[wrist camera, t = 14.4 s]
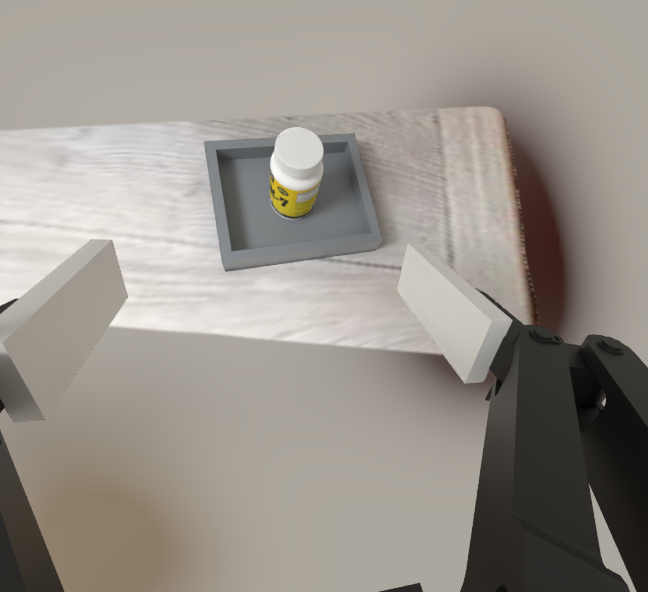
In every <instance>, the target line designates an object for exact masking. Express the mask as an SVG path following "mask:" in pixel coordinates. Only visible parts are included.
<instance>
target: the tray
mask: <svg viewBox="0 0 648 592" xmlns="http://www.w3.org/2000/svg"><path fill="white" fill-rule="evenodd" d="M317 136H318V137H319V139H320V140H321V142H322V145H323V149H324V153H323V159H322V162H323V175H322V179H321V183H320V186H319V190H318V193H317V197H316V200H315V204H314V207H313V209H312V211H311V212H310V214H309V215H307V216H306V217H304V218H302V219H299V220H288V219H285V218H283V217H281V216H280V215H278V214H277V213H276V212H275V211H274V209H273V208H272V206H271V203H270V160H271V156H272V154H273V152H274V149H275V142H276V139H277V138H261V139H242V140H224V141H205V142H204V145H205V152H206V159H207V165H208V172H209V179H210V185H211V192H212V199H213V205H214V212H215V219H216V225H217V232H218V239H219V245H220V252H221V259H222V264H223V266H224V269H225V271H233V270H240V269H247V268H254V267H261V266H268V265H275V264H282V263H290V262H297V261H304V260H311V259H318V258H325V257H332V256H339V255H346V254H353V253H360V252H368V251H375V250H376V249H377V248H378V246H379V245H380V244H381V243H382V242H383V239H382V235H381V231H380V228H379V224H378V220H377V216H376V213H375V209H374V205H373V201H372V198H371V194H370V190H369V186H368V183H367V179H366V175H365V171H364V168H363V164H362V160H361V156H360V153H359V149H358V145H357V141H356V138H355V134H335V135H317Z"/></svg>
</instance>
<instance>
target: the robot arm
mask: <svg viewBox="0 0 648 592" xmlns="http://www.w3.org/2000/svg"><path fill="white" fill-rule="evenodd" d="M397 292H398V294H399V295H400V296H401V298H402V299H403V301H404V302H405V303H406V305H407V306H408V307H409V309H410V310H411V311H412V313H413V314H414V315H415V317H416V318H417V320H418V321H419V322H420V324H421V325H422V326H423V328H424V329H425V330H426V332H427V333H428V334H429V336H430V337H431V338H432V340H433V341H434V343H435V344H436V345H437V347H438V348H439V349H440V351H441V352H442V353H443V355H444V356H445V357H446V359H447V360H448V361H449V363H450V364H451V366H452V367H453V368H454V370H455V371H456V372H457V374H458V375H459V376H460V378H461V379H462V380H463V382H464V383H465V384H466V383H477V382H484V380H485V378H486V376H487V373H488V371H489V369H490V370H491V371H492V372H493V373H494V374H495V376H496V379H495V381H494V383H493V385H492V387H491V389H490V391H489V393H488V395H487V397H486V399H485V400H488V401H489V399H490V398H491V399H490V407H489V414H488V420H487V427H486V434H485V441H484V448H483V455H482V462H481V470H480V477H479V484H478V491H477V498H476V505H475V512H474V519H473V526H472V533H471V540H470V548H469V554H468V561H467V569H466V574H465V578H464V583H463V585H462V588H461V591H460V592H630V591H629V588H628V586H627V584H626V583H625V581H624V580H623V579H622V577H621V576H620V575H618V574H616V573H615V572H613V571H611V570H609V569H607V568H606V567H605V566H604V564H603V561H602V558H601V554H600V548H599V542H598V536H597V531H596V524H595V518H594V512H593V507H592V500H591V495H590V488H589V484H590V487H591V489H592V491H593V493H594V496H595V498H596V500H597V502H598V505H599V507H600V509H601V512H602V514H603V516H604V519H605V521H606V523H607V525H608V528H609V530H610V532H611V534H612V537H613V539H614V541H615V543H616V546H617V548H618V550H619V552H620V555H621V557H622V559H623V562H624V564H625V566H626V569H627V571H628V573H629V575H630V578H631V580H632V582H633V585H634V587H635V589H636V591H637V592H648V368H647V366H646V365H645V364H644V363H643V362H642V361H641V360H640V359H639V357H638V356H637V355H636V354H635V353H634V352H633V351H632V350H631V349H630V348H629V347H627V346H626V345H624V344H622V343H621V342H620V341H618V340H616V339H615V340H614V339H613V338H611V337H605V336H602V335H594V334H593V335H588V336H587V337H586V339H585V340H584V342H583V344H582V345H581V346H579V345H573V344H567V343H564V341H563V339H562V338H561V337H559V336H558V335H557V334H555V333H554V332H552V331H550V330H548V329H545V328H543V327H539V326H535V325H523V324H522V323H521V322H520V321H519V320H517V319H516V318H515V317H514V316H513V315H511V314H510V313H509V312H508V311H507V310H505V309H504V308H502V306H501V305H499V304H498V303H495V300H493V299H492V298H491V297H490V296H489V295H487V294H486V293H484V292H482V291H480V290H478V289H476V288H474V287H473V286H472V285H471V284H469V283H468V282H467V281H466V280H465V279H464V278H462V277H461V276H460V275H459V274H458V273H457V272H455V271H454V270H453V269H452V268H451V267H450V266H448V265H447V264H446V263H445V262H444V261H442V260H441V259H440V258H439V257H438V256H437V255H435V254H434V253H433V252H432V251H431V250H430V249H428V248H427V247H426V246H425V245H424V244H423V243H407V248H406V252H405V256H404V261H403V265H402V270H401V274H400V278H399V283H398V287H397ZM127 298H128V295H127V292H126V288H125V285H124V281H123V278H122V274H121V270H120V267H119V263H118V260H117V256H116V252H115V249H114V245H113V242H112V240H90V241H89V242H88V243H86V244H85V245H84V246H83V247H82V248H80V249H79V250H78V251H77V252H75V253H74V254H73V255H72V256H71V257H69V258H68V259H67V260H66V261H64V262H63V263H62V264H61V265H60V266H58V267H57V268H56V269H55V270H54V271H52V272H51V273H50V274H49V275H47V276H46V277H45V278H44V279H43V280H41V281H40V282H39V283H38V284H36V285H35V286H34V287H33V288H32V289H30V290H29V291H28V292H27V293H26V294H24V295H23V296H22V297H21V298H19V299H14V300H12V301H10V302H8V303H5V304H3V305H1V306H0V412H1V411H2V410H3V409H4V408H5V410H6V411H7V413H8V414H9V416H10V417H11V419H12V420H13V422H26V421H36V420H46V419H47V417H48V416H49V414H50V413H51V411H52V410H53V408H54V407H55V405H56V404H57V402H58V401H59V399H60V398H61V396H62V395H63V393H64V392H65V390H66V389H67V387H68V386H69V384H70V383H71V381H72V380H73V378H74V377H75V375H76V374H77V372H78V371H79V369H80V368H81V366H82V365H83V363H84V362H85V360H86V359H87V357H88V356H89V354H90V353H91V351H92V350H93V348H94V347H95V345H96V344H97V342H98V341H99V339H100V338H101V337H102V335H103V334H104V332H105V330H106V329H107V328H108V326H109V325H110V323H111V322H112V320H113V319H114V317H115V316H116V314H117V313H118V311H119V310H120V308H121V307H122V305H123V304H124V302H125V301H126V299H127ZM605 398H606V404H605V406H603V405H602V402H603V400H604V399H605ZM0 592H64V589H63V587H62V584H61V582H60V579H59V577H58V574H57V572H56V569H55V567H54V565H53V562H52V559H51V557H50V554H49V552H48V549H47V547H46V544H45V541H44V539H43V536H42V534H41V531H40V529H39V526H38V524H37V521H36V519H35V516H34V514H33V511H32V509H31V506H30V504H29V501H28V499H27V496H26V494H25V491H24V489H23V486H22V483H21V481H20V479H19V476H18V474H17V471H16V469H15V466H14V463H13V461H12V458H11V456H10V453H9V451H8V448H7V446H6V443H5V441H4V438H3V436H2V433H1V431H0ZM380 592H423V591H422V588H421V585H420V583H417V584H413V585H408V586H403V587H399V588H394V589H389V590H385V591H380Z"/></svg>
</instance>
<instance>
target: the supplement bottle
mask: <svg viewBox="0 0 648 592" xmlns="http://www.w3.org/2000/svg"><path fill="white" fill-rule="evenodd" d="M323 153H324V149H323V145H322V142H321V140H320V139H319V137H318V136H317V135H316V134H315V133H313V132H312V131H310V130H308V129H305V128H302V127H292V128H288V129H286V130H284V131H282V132H281V133H280V134H279V135H278V137H277V139H276V142H275V149H274V152H273V154H272V156H271V160H270V203H271V206H272V208H273V209H274V211H275V212H276V213H277V214H278V215H280V216H281V217H283V218H285V219H288V220H299V219H302V218H304V217H306V216H307V215H309V214H310V212H311V211H312V209H313V207H314V204H315V200H316V197H317V193H318V190H319V186H320V183H321V179H322V175H323V162H322V159H323Z"/></svg>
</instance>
